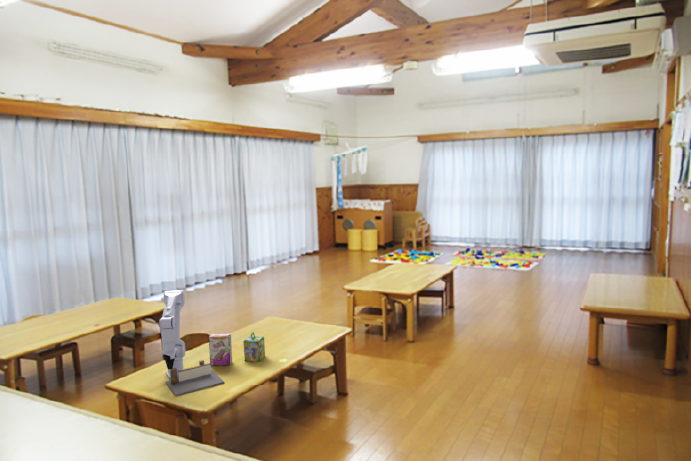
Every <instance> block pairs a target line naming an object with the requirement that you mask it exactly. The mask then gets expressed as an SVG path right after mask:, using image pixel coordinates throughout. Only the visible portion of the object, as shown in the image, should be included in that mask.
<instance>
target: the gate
mask: <svg viewBox="0 0 691 461" xmlns="http://www.w3.org/2000/svg"><path fill="white" fill-rule="evenodd" d="M211 370H212V366H210V362H208V363H207V362H206V363H204V364H203V365H195V366H191V367H187V368H183V370H178V377H177V378H179V382H180V381H184V380H188V379H192V378H195V377H199V376H203V375H207V374H211Z"/></svg>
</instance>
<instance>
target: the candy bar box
mask: <svg viewBox="0 0 691 461" xmlns="http://www.w3.org/2000/svg"><path fill="white" fill-rule="evenodd" d="M208 345H209V350H208V351H209V363H210V366H211V367H212V366H215V367H216V366H231V365H232V363H233V352H232V350H233V349H232V334H231V333H210V335H209V336H208Z"/></svg>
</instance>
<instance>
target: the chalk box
mask: <svg viewBox="0 0 691 461" xmlns="http://www.w3.org/2000/svg"><path fill="white" fill-rule="evenodd" d="M265 348H266V347H265V337H264V336H256V335H255V331H252V333H250V336H248V337H247V338H245V339H244V340H243V355H244V362H261V361H262V360H263V359H264V358H265V357H266V349H265Z"/></svg>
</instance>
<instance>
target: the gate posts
mask: <svg viewBox="0 0 691 461" xmlns="http://www.w3.org/2000/svg"><path fill="white" fill-rule="evenodd" d="M198 364H199V365H203V364H205V360H203V359H201V360H199V361H198ZM199 365H198V366H199ZM170 373H171V379H170V380H171V384H172V385H175V384H177V383H178V377H177V368H173V369H170Z"/></svg>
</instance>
